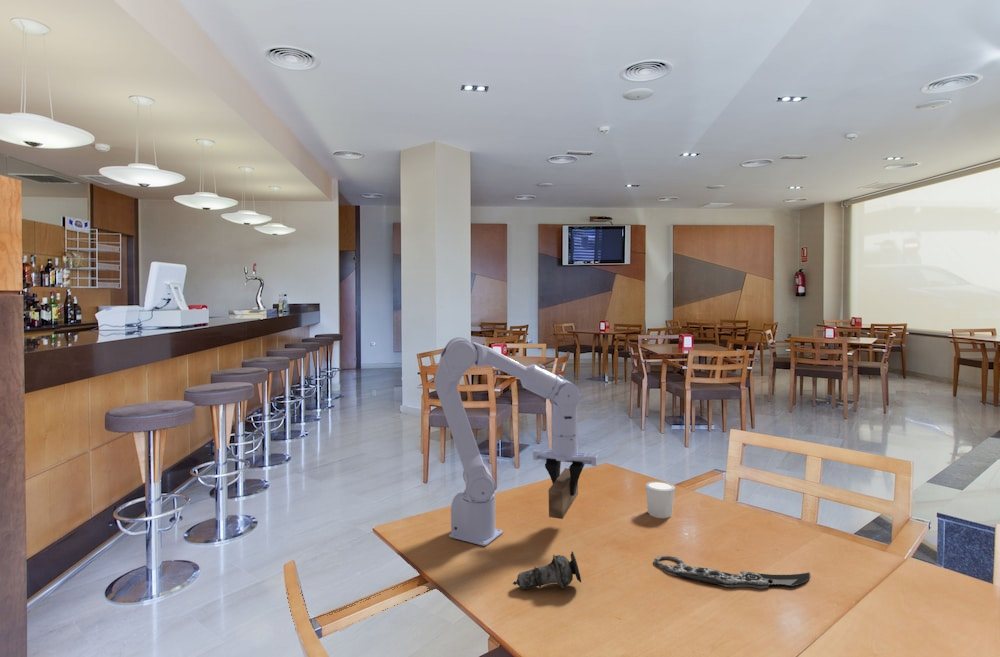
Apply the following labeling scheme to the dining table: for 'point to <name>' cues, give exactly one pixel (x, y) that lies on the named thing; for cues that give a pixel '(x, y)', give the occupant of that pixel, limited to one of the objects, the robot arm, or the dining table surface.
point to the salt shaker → (550, 573)
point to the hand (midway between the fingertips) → (565, 493)
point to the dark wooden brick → (561, 495)
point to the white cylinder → (660, 499)
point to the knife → (730, 575)
